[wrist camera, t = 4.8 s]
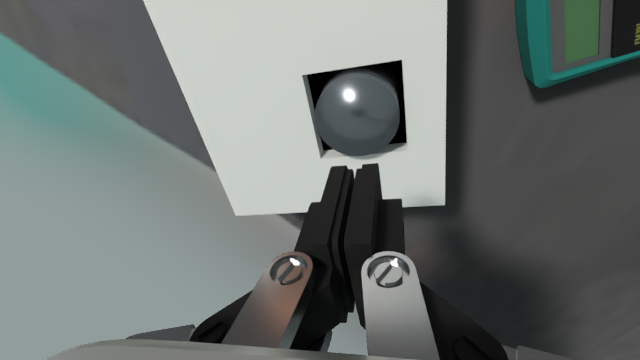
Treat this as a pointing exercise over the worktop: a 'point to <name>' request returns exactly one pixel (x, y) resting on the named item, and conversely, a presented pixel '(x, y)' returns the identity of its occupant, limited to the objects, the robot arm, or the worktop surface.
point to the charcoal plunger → (359, 109)
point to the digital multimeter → (575, 37)
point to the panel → (305, 91)
